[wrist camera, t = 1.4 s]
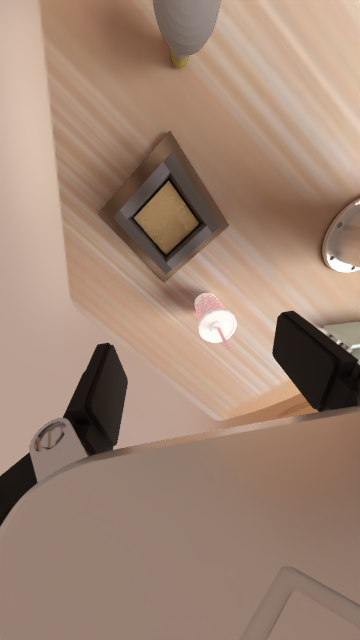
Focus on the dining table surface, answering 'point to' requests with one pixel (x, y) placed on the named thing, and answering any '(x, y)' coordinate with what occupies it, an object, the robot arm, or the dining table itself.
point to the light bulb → (185, 25)
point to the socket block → (142, 187)
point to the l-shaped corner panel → (346, 336)
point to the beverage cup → (214, 319)
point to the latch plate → (166, 218)
